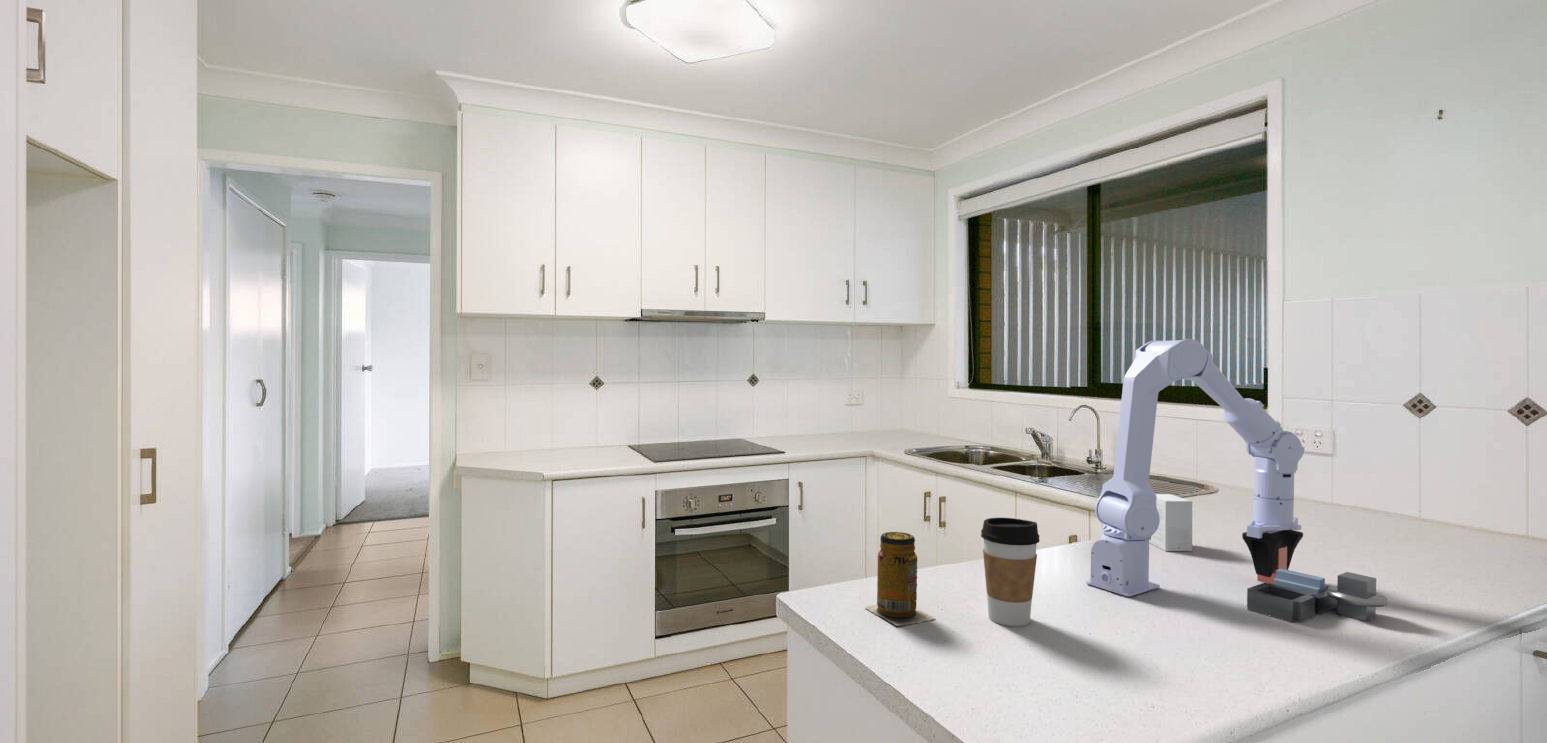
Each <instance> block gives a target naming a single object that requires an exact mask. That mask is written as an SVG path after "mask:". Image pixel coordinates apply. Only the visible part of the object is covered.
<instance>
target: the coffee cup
mask: <svg viewBox="0 0 1547 743" xmlns="http://www.w3.org/2000/svg"><path fill="white" fill-rule="evenodd" d="M980 532H981V534H980V537H981V538H982V539H983V549H982V552H983V553H982V554H983V566H984V567H983V568H984V576H985V587H986V588H985V590H986V596H987V597H986V599H987V600H986V601H987V612H988V618H989V619H990V620H991V621H992V622H994V623H996V624H998V625H1001V626H1005V627H1006V626H1008V627H1024V626H1027V625H1029V624H1030V622H1031V613H1032V601H1033V594H1034V585H1035V577H1036V568H1037V560H1038V554H1037V544H1039V543H1040V541H1041V540H1040V534H1039V531H1038V523H1037V522H1036V521H1032V520H1028V519H1027V520H1026V519H1021V518H1013V517H990V518H986V519H984V520H983V524H982V529H981V531H980Z"/></svg>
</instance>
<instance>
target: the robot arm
mask: <svg viewBox="0 0 1547 743" xmlns="http://www.w3.org/2000/svg"><path fill="white" fill-rule="evenodd" d="M1134 353H1135V356H1134V360H1133V362H1132V363H1131V365H1130V367H1129V368H1128V370H1127V371H1126V373H1125V375H1124V378H1123V382H1122V391H1121V392H1122V393H1121V401H1120V410H1119V418H1118V419H1119V421H1118V428H1117V429H1118V431H1117V437H1116V438H1117V439H1116V446H1115V447H1116V448H1115V455H1114V456H1115V457H1114V458H1115V459H1114V465H1113V466H1114V468H1113V474H1112V475H1113V476H1112V478H1109V480H1107V481H1106V482H1104V483H1103V484H1102V488H1101V493H1100V495H1099V497H1098V498H1097V500H1096V503H1095V505H1094V513H1095V517H1096V518H1097V519H1098V521H1099V523H1101V530H1102V533H1101V534H1102V535H1101V538H1100V539H1099V540H1096V541H1095V542H1094V543H1093V544H1092V546H1091V550H1090V578H1089V579H1087V580H1086V581H1085V584H1087V585H1089V586H1093V587H1097V588H1100V589H1103V590H1106V591H1109V592H1112V593H1114V594H1118V595H1121V596H1125V597H1132V596H1137V595H1139V594H1142V593H1146V592H1149V591H1153V590H1156V589H1159V588H1160V587H1161V584H1158V583H1155V582H1152V581H1149V578H1150V573H1149V572H1150V571H1149V569H1150V543H1149V540H1151V536H1152V535H1153V534H1154V533H1155V532H1156V530H1157V529H1158V526H1159V522H1160V517H1159V513H1158V510H1157V507H1156V500H1157V497H1156V495H1155V494H1156V493H1155V491H1154V489H1153V487H1152V485H1151V484H1150V476H1151V475H1150V474H1151V464H1152V456H1153V445H1154V435H1155V426H1156V420H1157V419H1156V418H1157V409H1158V408H1157V407H1158V400H1159V399H1158V398H1159V393H1160V391H1163V390H1164V389H1165V388H1167V387H1168V386H1170V385H1171V384H1173V383H1174V382H1177V381H1180V380H1186V381H1192V382H1193V383H1194V384H1195V385H1197V386H1198V387H1199V388H1200V389H1201V390H1202V391H1203V392H1204V393H1205V394H1206V395H1208V396H1209V397H1210V398H1211V399H1212V400H1213V401H1214V402H1215V403H1217V404H1218V405H1219V407H1221V408H1222V409H1223V410H1224V413H1223V419H1224V421H1225V422H1226V423H1227V424H1228V425H1229V426H1230V427H1231V428H1232V429H1233V430H1234V431H1235V432H1236V433H1237V434H1238V435H1239V436H1240V437H1241V438H1242V439H1243V441H1244V442H1245V448H1246V449H1245V450H1246V452H1247V454H1248V455H1251V456H1252V457H1253V458H1254V476H1253V514H1252V515H1253V517H1252V518H1251V521H1250V523H1249V524H1247V525H1246V531H1245V532H1242V533H1241V534H1242V535H1241V536H1242V539H1243V541H1244V543H1245V544H1246V546H1247V549H1248V550H1249V553H1250V555H1251V559H1252V563H1253V567H1254V571H1255V573H1256V575H1257V574H1258V575H1262V576H1266V577H1271V576H1272V573H1273V569H1274V562H1275V557H1276V554H1277V551H1278V549H1279V547H1280V545H1282V546H1287V570H1290V569H1289V568H1290V565H1291V562H1292V559H1293V555H1294V552H1295V550H1296V548H1297V546H1298V545H1299V543H1300V541H1301V540H1302V539H1303V537H1304V532H1302V531H1301V530H1302V525H1300V524H1299V522H1298V521H1299V518H1298V517H1296V516H1294V505H1295V504H1294V503H1295V502H1294V501H1295V500H1294V499H1295V474H1296V472H1297V471H1298V467H1299V466H1298V464H1299V462H1300V461H1301V459H1302V458H1303V456H1304V453H1305V447H1304V446H1303V445H1302V441H1301V440H1300V438H1299V437H1298V435H1296V434H1295V433H1293V432H1292V431H1287V430H1284V429H1283V428H1282V424H1281V423H1280V422H1279V421H1278V420H1275V419H1274V418H1273V417H1272V416H1271V415H1270V414H1269V412H1267V411H1266V410H1265V409H1264V406H1265V405H1264V404H1263V403H1262V401H1261V400H1255V399H1253V398H1250V397H1249V398H1248V397H1247V398H1244V397H1243V396H1242V395H1241V394H1240V392H1239V391H1238V390H1237V389H1236V388H1235V387H1234V385H1233V384H1232V383H1231V382H1230V380H1228V378H1227V377H1226V376H1225V375H1224V373H1223V372H1222V371H1221V370H1220V369H1219V367H1218V366H1216V364H1215V363H1214V361H1213V354H1212V353H1211V352H1210V351H1208V350H1207V349H1206V348H1205V347H1204V345H1203V344H1202V343H1201V342H1200V341H1198V340H1196V339H1194V338H1186V339H1185V338H1184V339H1178V340H1175V339H1174V340H1173V339H1172V340H1159V339H1158V340H1157V339H1156V340H1150V341H1148V342H1146V343H1145V344H1143V345H1141V346H1140V347H1138V348H1136V349H1135V352H1134Z"/></svg>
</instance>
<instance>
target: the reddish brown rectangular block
mask: <svg viewBox="0 0 1547 743" xmlns="http://www.w3.org/2000/svg"><path fill="white" fill-rule="evenodd" d="M1278 569H1286V570H1287V546H1282V545H1280V547H1279V549H1278V551H1277V554H1276V557H1275V562H1274V569H1273V573H1272V576H1271V577H1266V576H1262V575H1258V574H1256V575H1257V578H1256V579H1257V582H1261V583H1268V584H1269V583H1270V584H1273V579H1275V578H1276V570H1278Z"/></svg>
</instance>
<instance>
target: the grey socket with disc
mask: <svg viewBox="0 0 1547 743" xmlns="http://www.w3.org/2000/svg"><path fill="white" fill-rule="evenodd" d="M1336 583H1337V584H1336V585H1332V584H1327V583H1325V585H1327V590H1325V591H1323V592H1320V593H1318V594H1315V595H1314V594H1310V593H1306V592H1302V591H1298V590H1294V589H1290V588H1286V587H1282V586H1278V585H1274V584H1270V583H1269V584H1268V583H1264V582H1261V583H1260V584H1256V585H1254V586H1251V587H1248V588H1246V589H1247V592H1246V593H1247V595H1246V608H1247V611H1250V612H1255V613H1258V614H1261V613H1262V614H1261V615H1264V614H1266V615H1265V616H1268V615H1270V616H1269V617H1271V616H1273V617H1272V618H1274V617H1275V619H1278V618H1279V620H1281V619H1283V620H1282V621H1286V622H1289V623H1295V622H1297V621H1298V623H1302V621H1303V622H1305V621H1307V620H1309V618H1310V619H1312V618H1314V617H1316V615H1318V614H1320V615H1322V614H1324V613H1327V612H1329V611H1332V610H1333V609H1336V614H1337V613H1338V614H1337V615H1340V614H1341V615H1340V616H1343V615H1344V616H1345V617H1347V616H1348V618H1351V617H1352V619H1355V618H1356V620H1359V619H1360V621H1362V620H1363V621H1362V622H1368V621H1370V620H1372V619H1374V618H1376V611H1377V610H1376V609H1377V608H1381V607H1382V608H1384V607H1386V606H1387V605H1388V598H1387V597H1386V596H1385V595H1383V594H1381V593H1378V592H1377V578H1376V577H1372V576H1367V575H1362V574H1360V573H1359V574H1357V573H1353V572H1349V571H1346V572H1343V573H1341V574H1338V575H1337V582H1336ZM1315 613H1316V615H1315ZM1321 613H1322V614H1321ZM1313 616H1314V617H1313ZM1311 617H1312V618H1311ZM1371 618H1372V619H1371ZM1369 619H1370V620H1369ZM1304 620H1305V621H1304ZM1367 620H1368V621H1367Z"/></svg>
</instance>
